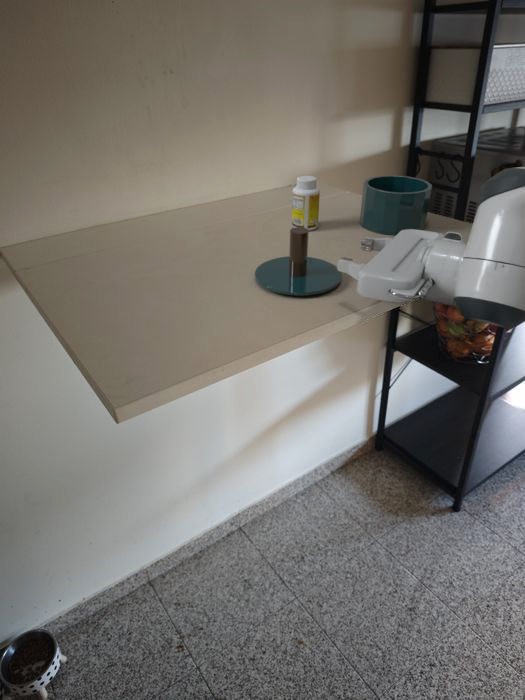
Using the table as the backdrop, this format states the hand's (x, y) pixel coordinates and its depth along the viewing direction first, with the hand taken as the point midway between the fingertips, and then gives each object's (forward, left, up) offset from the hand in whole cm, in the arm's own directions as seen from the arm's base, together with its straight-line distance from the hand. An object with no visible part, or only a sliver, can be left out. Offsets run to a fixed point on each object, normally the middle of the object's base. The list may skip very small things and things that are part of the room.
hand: (351, 253), depth 77 cm
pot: (-4, -35, -7) cm, 36 cm away
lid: (+9, -2, -6) cm, 11 cm away
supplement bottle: (+14, -27, -7) cm, 32 cm away
